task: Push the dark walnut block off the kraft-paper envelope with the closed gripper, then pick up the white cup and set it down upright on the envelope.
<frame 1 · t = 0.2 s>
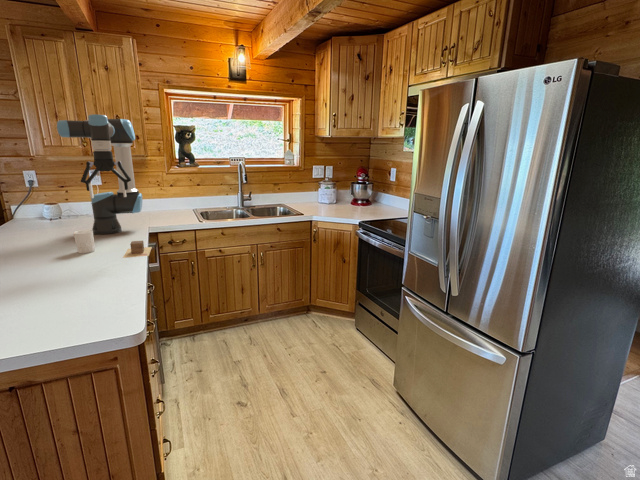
hand: (109, 197, 169), 27 cm above the worktop, fingers open, 13 cm apart
envelope: (138, 252, 175), on the worktop
white cup: (86, 252, 177), on the worktop
walnut block: (138, 252, 175), resting on envelope
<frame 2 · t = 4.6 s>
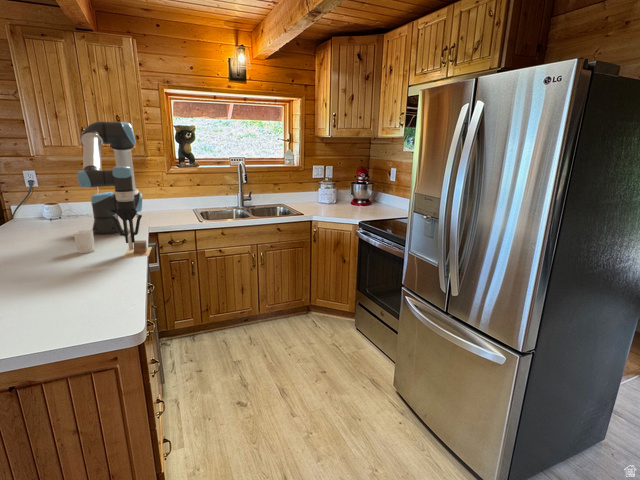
hand: (131, 249, 174), 2 cm above the worktop, fingers closed
walnut block: (140, 251, 175), resting on envelope, touching gripper
everything else where it was.
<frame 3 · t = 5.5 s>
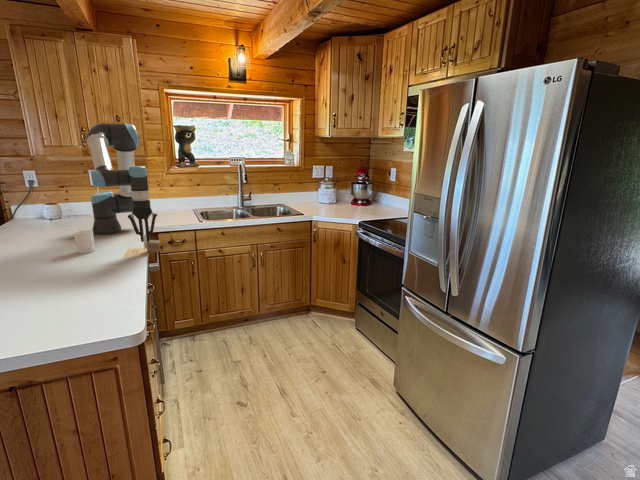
hand: (146, 248, 176), 2 cm above the worktop, fingers closed
walnut block: (153, 251, 177), on the worktop, tilted 7°, touching gripper
everything else where it was.
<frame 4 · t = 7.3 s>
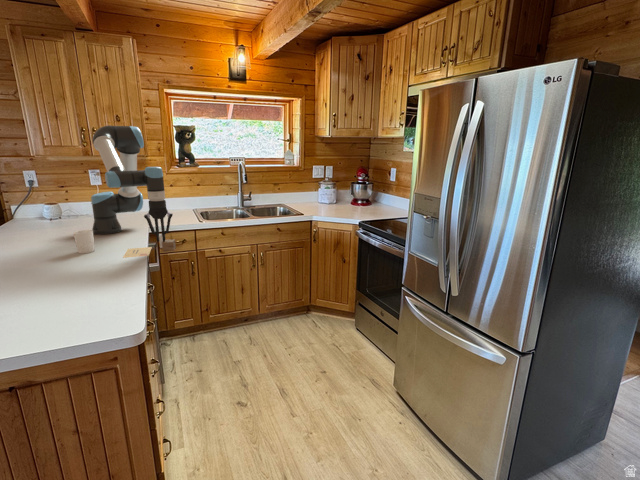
hand: (162, 247, 178), 2 cm above the worktop, fingers closed
walnut block: (169, 250, 179), on the worktop, touching gripper
everything else where it was.
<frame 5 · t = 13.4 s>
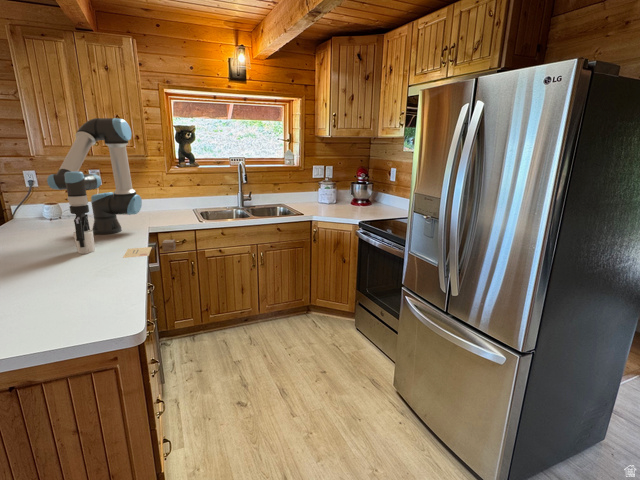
hand: (86, 251, 177), 0 cm above the worktop, fingers closed on white cup, 8 cm apart
white cup: (86, 252, 177), on the worktop, touching gripper
walnut block: (169, 250, 179), on the worktop
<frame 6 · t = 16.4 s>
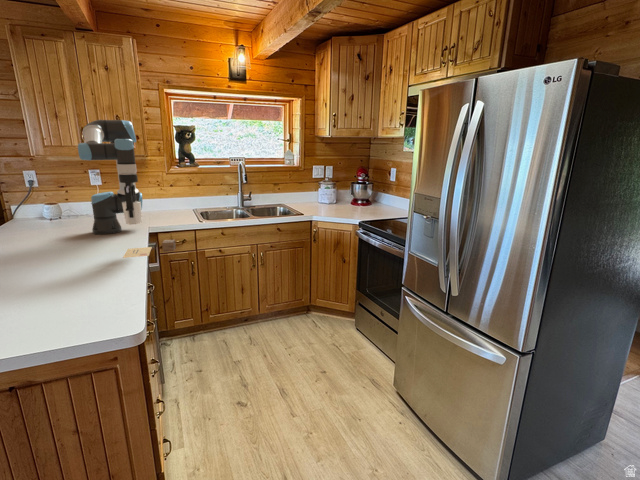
hand: (134, 222, 172), 15 cm above the worktop, fingers closed on white cup, 8 cm apart
white cup: (134, 223, 172), point 15 cm above the worktop, touching gripper
everything else where it was.
when the fingers open (2 cm above the worktop, at t = 19.6 s): white cup stays where it is, resting on envelope.
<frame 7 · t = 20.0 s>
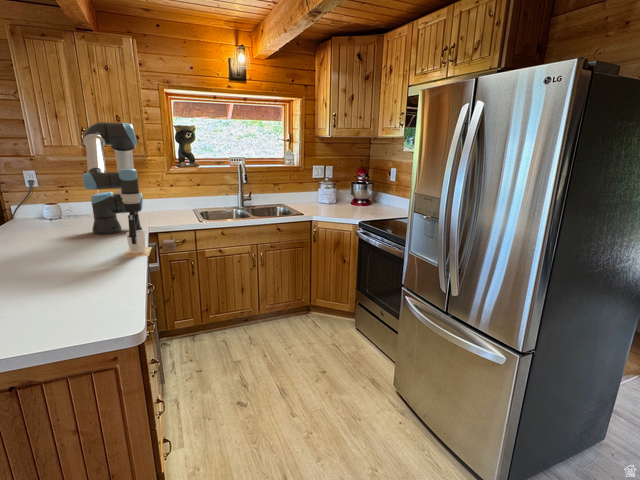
hand: (137, 246, 175), 3 cm above the worktop, fingers open, 12 cm apart
white cup: (138, 252, 175), resting on envelope
everything else where it was.
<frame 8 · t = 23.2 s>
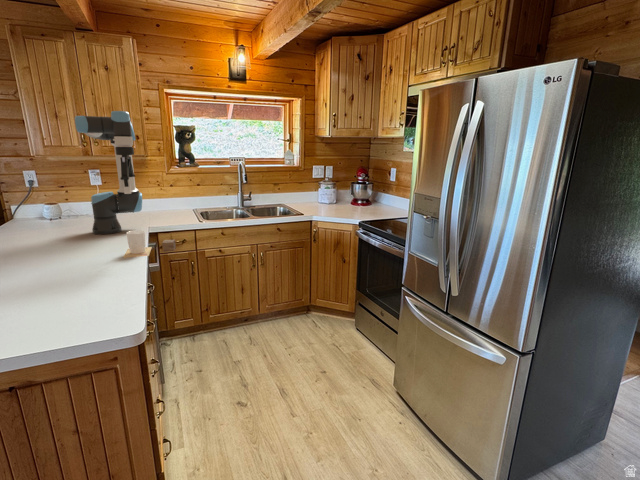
hand: (130, 192, 173), 29 cm above the worktop, fingers open, 13 cm apart
nothing on the worktop moved.
at the end: white cup inside the target area on the envelope (0.0 cm from its centre), point 0.1 cm above the envelope's base; white cup tilted 1°; walnut block inside the target area on the worktop beside the envelope (12.2 cm from its centre), on the worktop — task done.
